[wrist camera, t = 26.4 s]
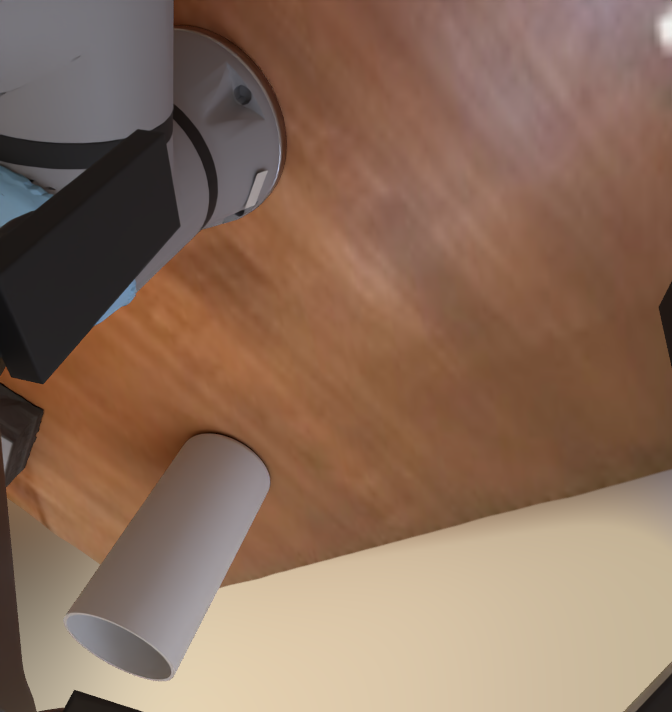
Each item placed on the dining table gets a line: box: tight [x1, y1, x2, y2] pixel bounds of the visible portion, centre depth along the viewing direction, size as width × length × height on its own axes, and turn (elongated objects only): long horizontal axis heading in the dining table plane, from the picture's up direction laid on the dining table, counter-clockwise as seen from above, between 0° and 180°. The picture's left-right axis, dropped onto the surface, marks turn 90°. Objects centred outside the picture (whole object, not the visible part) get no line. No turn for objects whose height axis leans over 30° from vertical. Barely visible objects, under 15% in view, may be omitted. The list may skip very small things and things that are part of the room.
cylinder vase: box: [64, 433, 270, 681], centre depth 69 cm, size 12×12×25 cm
